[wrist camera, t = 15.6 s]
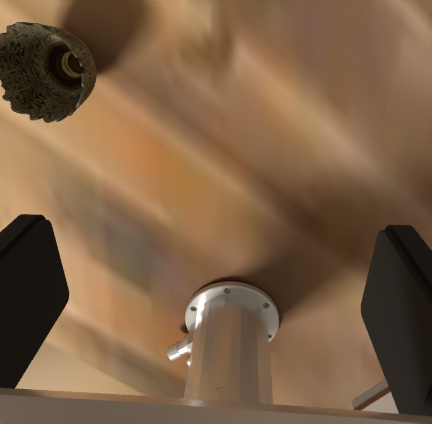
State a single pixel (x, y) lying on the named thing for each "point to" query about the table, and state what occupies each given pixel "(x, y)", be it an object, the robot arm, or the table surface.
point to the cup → (44, 71)
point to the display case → (376, 400)
